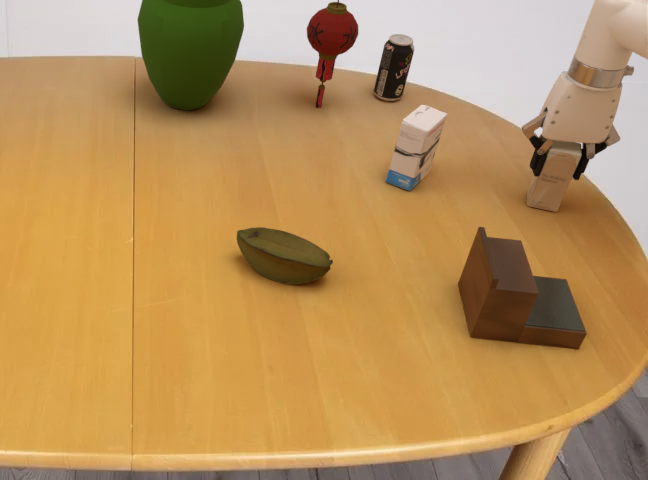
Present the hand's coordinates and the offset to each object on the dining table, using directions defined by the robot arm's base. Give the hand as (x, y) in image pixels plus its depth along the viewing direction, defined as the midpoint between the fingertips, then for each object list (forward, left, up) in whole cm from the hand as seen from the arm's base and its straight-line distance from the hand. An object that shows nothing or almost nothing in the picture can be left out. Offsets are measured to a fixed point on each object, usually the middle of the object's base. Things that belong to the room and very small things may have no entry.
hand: (554, 173), depth 145 cm
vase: (+63, -24, -6) cm, 68 cm away
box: (0, 0, -6) cm, 6 cm away
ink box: (+22, -4, -6) cm, 23 cm away
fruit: (+44, +26, -6) cm, 52 cm away
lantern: (+37, -27, -6) cm, 47 cm away
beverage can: (+23, -34, -6) cm, 42 cm away
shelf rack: (+10, +31, -6) cm, 33 cm away
